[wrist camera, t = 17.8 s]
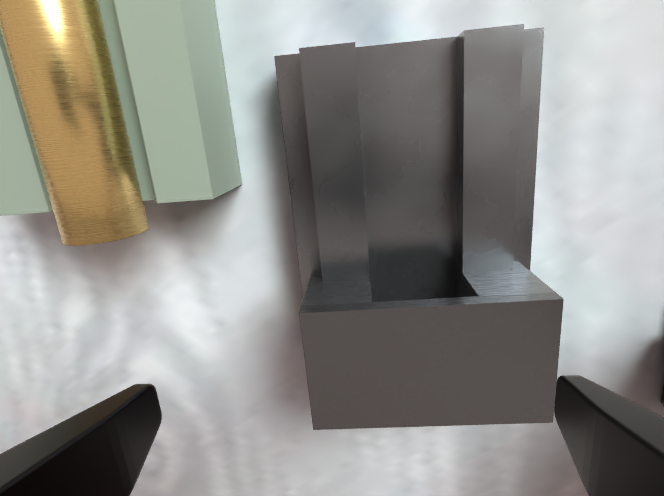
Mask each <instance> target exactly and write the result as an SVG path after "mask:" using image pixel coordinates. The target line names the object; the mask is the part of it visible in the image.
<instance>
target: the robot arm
mask: <svg viewBox="0 0 664 496" xmlns="http://www.w3.org/2000/svg"><path fill="white" fill-rule="evenodd" d="M661 403H662V404H663V406H664V387H663V393H662V398H661ZM554 412H555V418H556V421H557V423H558V426H559V428H560V430H561V433H562V435H563V438H564V440H565V442H566V445H567V447H568V449H569V452H570V454H571V456H572V459H573V461H574V463H575V466H576V468H577V470H578V473H579V475H580V478H581V480H582V482H583V484H584V487H585V489H586V491H587V493H588V495H589V496H664V417H662V416H660V415H658V414H656V413H654V412H652V411H650V410H648V409H646V408H644V407H642V406H640V405H638V404H636V403H634V402H632V401H630V400H628V399H626V398H624V397H622V396H620V395H618V394H616V393H614V392H612V391H610V390H608V389H606V388H604V387H602V386H600V385H598V384H596V383H594V382H592V381H590V380H588V379H586V378H584V377H582V376H578V375H572V376H560V377H559V378H558V380H557V383H556V395H555V407H554ZM161 419H162V414H161V409H160V404H159V400H158V396H157V392H156V388H155V387H154V386H153V385H152V384H135V385H133V386H131V387H129V388H127V389H125V390H123V391H121V392H119V393H117V394H115V395H113V396H111V397H110V398H108V399H106V400H104V401H102V402H100V403H98V404H96V405H94V406H92V407H90V408H88V409H86V410H84V411H82V412H81V413H79V414H77V415H75V416H73V417H71V418H69V419H67V420H65V421H63V422H61V423H59V424H57V425H55V426H54V427H52V428H50V429H48V430H46V431H44V432H42V433H40V434H38V435H36V436H34V437H32V438H30V439H28V440H26V441H25V442H23V443H21V444H19V445H17V446H15V447H13V448H11V449H9V450H7V451H5V452H3V453H1V454H0V496H130V494H131V492H132V490H133V488H134V485H135V483H136V481H137V479H138V477H139V474H140V472H141V469H142V467H143V465H144V462H145V460H146V457H147V455H148V453H149V450H150V448H151V446H152V443H153V441H154V438H155V436H156V434H157V431H158V429H159V427H160V424H161Z"/></svg>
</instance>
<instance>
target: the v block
mask: <svg viewBox="0 0 664 496" xmlns="http://www.w3.org/2000/svg"><path fill="white" fill-rule="evenodd" d="M98 3H99V7H100V12H101V16H102V21H103V25H104V30H105V34H106V39H107V43H108V48H109V52H110V57H111V61H112V65H113V70H114V74H115V79H116V83H117V88H118V92H119V97H120V101H121V106H122V110H123V115H124V119H125V123H126V128H127V132H128V137H129V141H130V146H131V150H132V155H133V159H134V164H135V168H136V173H137V177H138V182H139V186H140V190H141V195H142V199H143V201H149V200H157V203H169V202H182V201H195V200H207V199H214V198H216V197H218V196H220V195H222V194H224V193H226V192H228V191H230V190H232V189H234V188H236V187H238V186H240V185H242V181H241V174H240V167H239V161H238V154H237V147H236V141H235V134H234V127H233V121H232V114H231V107H230V101H229V94H228V88H227V81H226V74H225V68H224V61H223V54H222V48H221V41H220V34H219V28H218V21H217V15H216V8H215V1H214V0H98ZM51 211H53V208H52V205H51V202H50V198H49V195H48V191H47V188H46V184H45V181H44V177H43V174H42V171H41V167H40V164H39V160H38V157H37V153H36V150H35V147H34V143H33V140H32V136H31V133H30V129H29V126H28V122H27V119H26V116H25V112H24V109H23V105H22V102H21V98H20V95H19V92H18V88H17V85H16V81H15V78H14V74H13V71H12V67H11V64H10V61H9V57H8V54H7V50H6V47H5V43H4V40H3V36H2V33H1V30H0V216H3V215H16V214H29V213H42V212H51Z"/></svg>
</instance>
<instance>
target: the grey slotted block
mask: <svg viewBox="0 0 664 496" xmlns="http://www.w3.org/2000/svg"><path fill="white" fill-rule="evenodd" d="M543 37H544V28H535V29H526V30H524V24H521V25H512V26H502V27H493V28H484V29H474V30H465V31H463V32H462V33H461V34H460V35H459V36H458V37H450V38H441V39H432V40H422V41H413V42H403V43H394V44H384V45H375V46H366V47H356V48H355V42H353V43H344V44H335V45H325V46H316V47H307V48H299V52H300V54H290V55H281V56H274V57H275V66H276V74H277V83H278V91H279V100H280V108H281V117H282V125H283V134H284V143H285V151H286V160H287V168H288V177H289V185H290V194H291V202H292V211H293V220H294V228H295V237H296V245H297V254H298V262H299V271H300V279H301V288H302V297H303V303H302V306H301V309H300V313H299V315H300V324H301V332H302V340H303V348H304V357H305V365H306V373H307V382H308V390H309V398H310V406H311V415H312V423H313V430H321V429H354V428H386V427H419V426H452V425H485V424H517V423H550V422H553V416H554V404H555V392H556V381H557V369H558V357H559V346H560V334H561V322H562V310H563V298H562V297H560V296H559V295H558V294H557V293H556V292H554V291H553V290H552V289H551V288H550V287H548V286H547V285H546V284H545V283H544V282H542V281H541V280H540V279H539V278H538V277H536V276H535V275H534V274H533V273H532V272H530V261H531V244H532V226H533V209H534V192H535V175H536V157H537V140H538V123H539V106H540V89H541V71H542V54H543Z"/></svg>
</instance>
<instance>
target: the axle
mask: <svg viewBox="0 0 664 496" xmlns="http://www.w3.org/2000/svg"><path fill="white" fill-rule="evenodd" d="M0 30H1V33H2V36H3V40H4V43H5V47H6V50H7V54H8V57H9V61H10V64H11V67H12V71H13V74H14V78H15V81H16V85H17V88H18V92H19V95H20V98H21V102H22V105H23V109H24V112H25V116H26V119H27V122H28V126H29V129H30V133H31V136H32V140H33V143H34V147H35V150H36V153H37V157H38V160H39V164H40V167H41V171H42V174H43V177H44V181H45V184H46V188H47V191H48V195H49V198H50V202H51V205H52V208H53V212H54V215H55V219H56V222H57V226H58V229H59V233H60V236H61V239H62V243H63V244H65V245H73V246H76V245H90V244H98V243H104V242H110V241H115V240H119V239H123V238H127V237H131V236H134V235H137V234H140V233H142V232H144V231H146V230H148V229H149V226H148V222H147V217H146V213H145V208H144V204H143V199H142V195H141V190H140V186H139V182H138V177H137V173H136V168H135V164H134V159H133V155H132V150H131V146H130V141H129V137H128V132H127V128H126V123H125V119H124V115H123V110H122V106H121V101H120V97H119V92H118V88H117V83H116V79H115V74H114V70H113V65H112V61H111V57H110V52H109V48H108V43H107V39H106V34H105V30H104V25H103V21H102V16H101V12H100V7H99V3H98V0H0Z"/></svg>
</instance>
